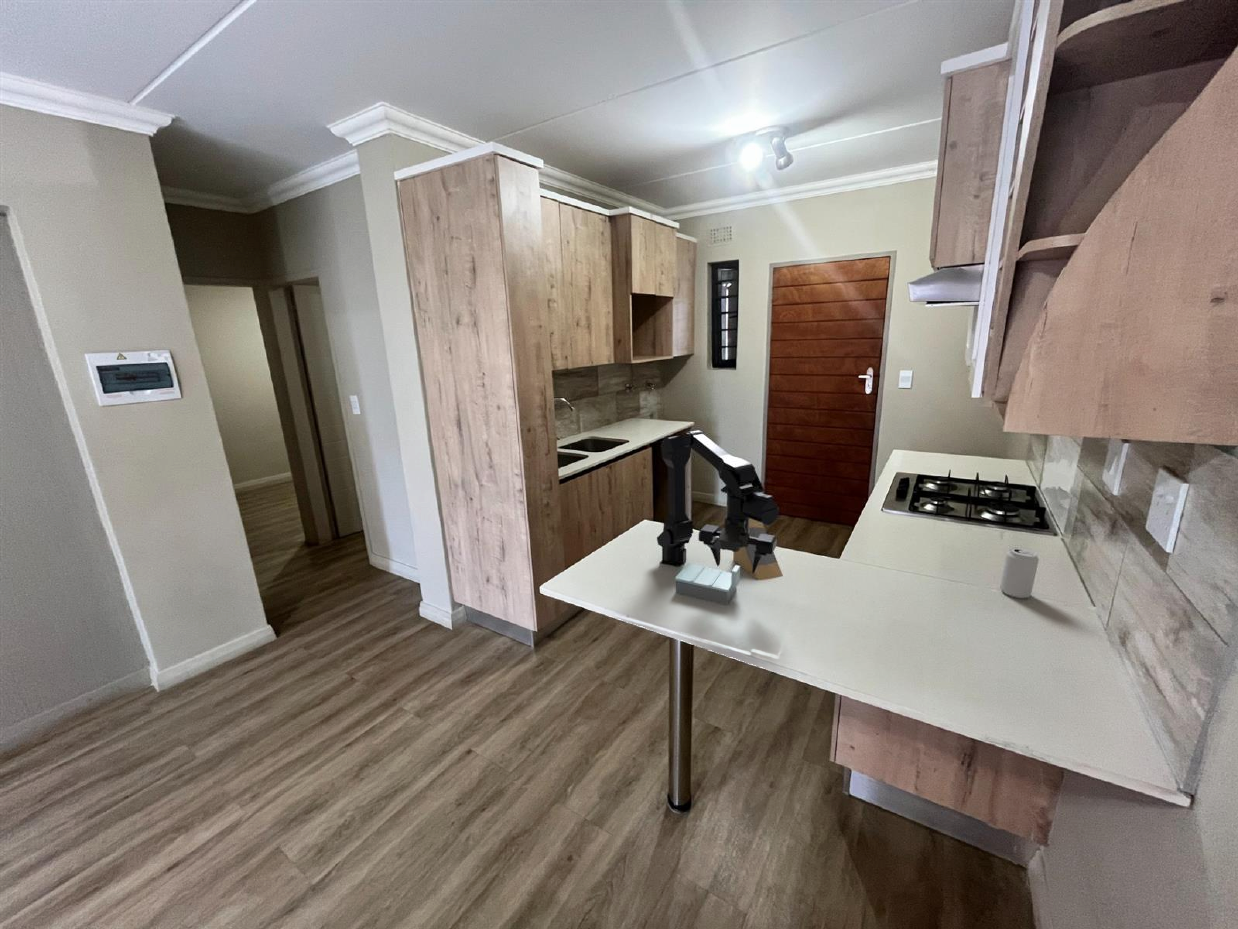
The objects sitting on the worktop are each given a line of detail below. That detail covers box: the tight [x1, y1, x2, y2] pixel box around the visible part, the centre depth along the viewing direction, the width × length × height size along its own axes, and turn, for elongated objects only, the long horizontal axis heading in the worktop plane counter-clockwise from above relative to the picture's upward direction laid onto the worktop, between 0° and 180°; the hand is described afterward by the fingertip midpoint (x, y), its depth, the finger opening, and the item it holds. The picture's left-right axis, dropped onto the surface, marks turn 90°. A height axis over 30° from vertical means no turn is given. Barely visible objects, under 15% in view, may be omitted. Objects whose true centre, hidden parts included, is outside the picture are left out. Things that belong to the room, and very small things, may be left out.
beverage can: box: [999, 546, 1040, 599], centre depth 124 cm, size 6×6×12 cm
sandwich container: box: [732, 519, 784, 581], centre depth 141 cm, size 9×15×15 cm, turn 16°
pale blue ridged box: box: [674, 563, 741, 593], centre depth 128 cm, size 16×9×5 cm, turn 61°
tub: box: [675, 581, 738, 606], centre depth 130 cm, size 14×9×4 cm, turn 61°
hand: (735, 569), depth 124 cm, fingers open, 9 cm apart
